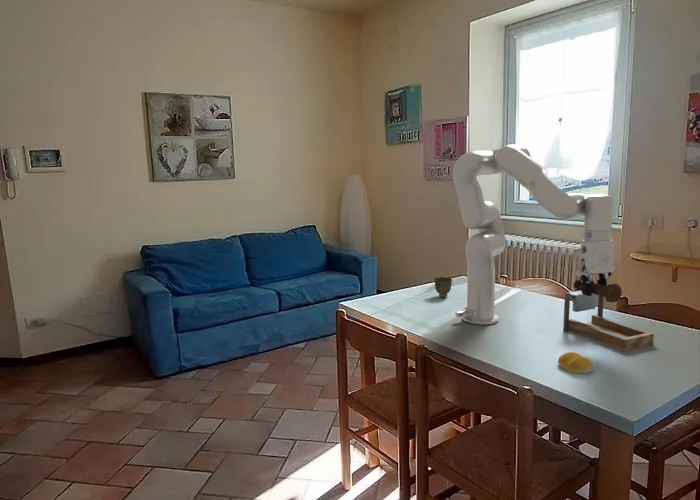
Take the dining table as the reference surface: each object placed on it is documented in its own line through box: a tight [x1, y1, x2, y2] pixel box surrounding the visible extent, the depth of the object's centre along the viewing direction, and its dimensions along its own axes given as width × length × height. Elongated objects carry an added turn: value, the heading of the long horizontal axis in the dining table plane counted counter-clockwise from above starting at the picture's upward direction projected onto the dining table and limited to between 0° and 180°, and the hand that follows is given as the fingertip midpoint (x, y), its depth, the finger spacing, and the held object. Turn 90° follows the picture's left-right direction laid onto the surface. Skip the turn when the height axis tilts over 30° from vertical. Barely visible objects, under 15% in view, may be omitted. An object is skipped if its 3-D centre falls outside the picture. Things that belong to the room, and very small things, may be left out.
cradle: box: [562, 292, 655, 352], centre depth 162 cm, size 17×22×13 cm
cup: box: [433, 276, 453, 298], centre depth 216 cm, size 8×7×8 cm
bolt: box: [573, 279, 623, 303], centre depth 157 cm, size 6×5×15 cm
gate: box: [567, 290, 598, 313], centre depth 171 cm, size 12×4×6 cm, turn 112°
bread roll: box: [557, 351, 594, 375], centre depth 140 cm, size 8×9×4 cm
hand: (594, 293), depth 157 cm, fingers closed on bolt, 5 cm apart
